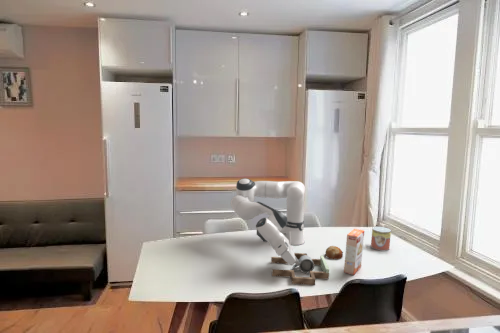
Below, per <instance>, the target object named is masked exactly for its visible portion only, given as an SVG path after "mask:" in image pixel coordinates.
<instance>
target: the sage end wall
mask: <svg viewBox="0 0 500 333" xmlns="http://www.w3.org/2000/svg"><path fill="white" fill-rule="evenodd" d="M324 256H325V255H320V258H319V259H320V260H321V264H320V265H319V266H320V268H321V270H322V271H321V272H326V273H329V274H330V268H329V265H328V263H327V261H326V259H325V257H324Z"/></svg>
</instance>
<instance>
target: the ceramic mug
mask: <svg viewBox="0 0 500 333" xmlns="http://www.w3.org/2000/svg"><path fill="white" fill-rule="evenodd" d="M312 259H313V258H312V257H311V256H309V255H308V254H307V255H303V256H301V257H300V259H299V264H298V265H296V264H295V263H294V264H293V265H292V270H294V272H296V271H300V272H302V273H303V274H310V271H314V268H315V265H314V263H313V261H312Z"/></svg>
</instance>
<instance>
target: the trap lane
mask: <svg viewBox="0 0 500 333" xmlns="http://www.w3.org/2000/svg"><path fill="white" fill-rule="evenodd" d="M294 254H295V256H296V258H297V259H298V260H299V259H300V257H301V256H303V255H307V256H308V254H307V253H303V252H302V253H301V252H294ZM270 258H271V259H270V264H283V265H289V264H288V263H287V262H286V261H285V260H284V259H283V258H282V257H281V256H271V257H270ZM311 259H312V261H313V263H314V266H320V264H321V260H320V258H311ZM295 274H296V273H295V270H293V269H277V268H276V269H275V268H272V269H271V276H272V277H284V278H290V279H291V284H292V285H307V286H308V285H309V286H310V285H311V286H315V285H316V279H325V280H329V279H330V272H329V273H326V272H323V271H320V270H319V271H318V270H317V271H316V270H312V271H310V273H309V276H296V275H295Z"/></svg>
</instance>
